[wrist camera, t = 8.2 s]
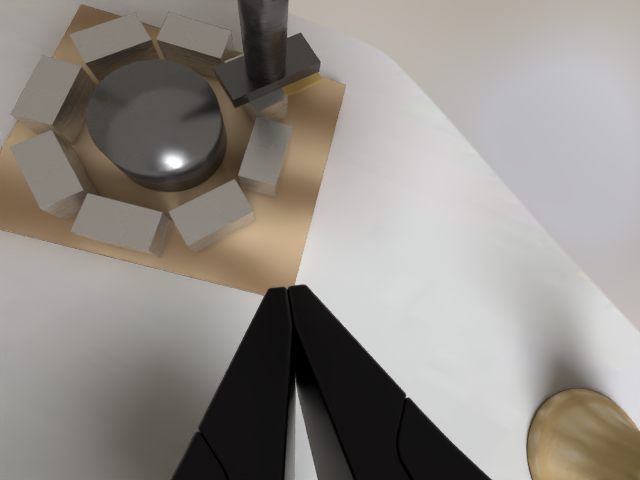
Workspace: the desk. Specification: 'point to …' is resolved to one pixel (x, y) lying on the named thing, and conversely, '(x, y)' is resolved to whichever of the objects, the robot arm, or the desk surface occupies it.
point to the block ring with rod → (202, 57)
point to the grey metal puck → (158, 125)
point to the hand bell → (583, 439)
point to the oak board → (230, 252)
